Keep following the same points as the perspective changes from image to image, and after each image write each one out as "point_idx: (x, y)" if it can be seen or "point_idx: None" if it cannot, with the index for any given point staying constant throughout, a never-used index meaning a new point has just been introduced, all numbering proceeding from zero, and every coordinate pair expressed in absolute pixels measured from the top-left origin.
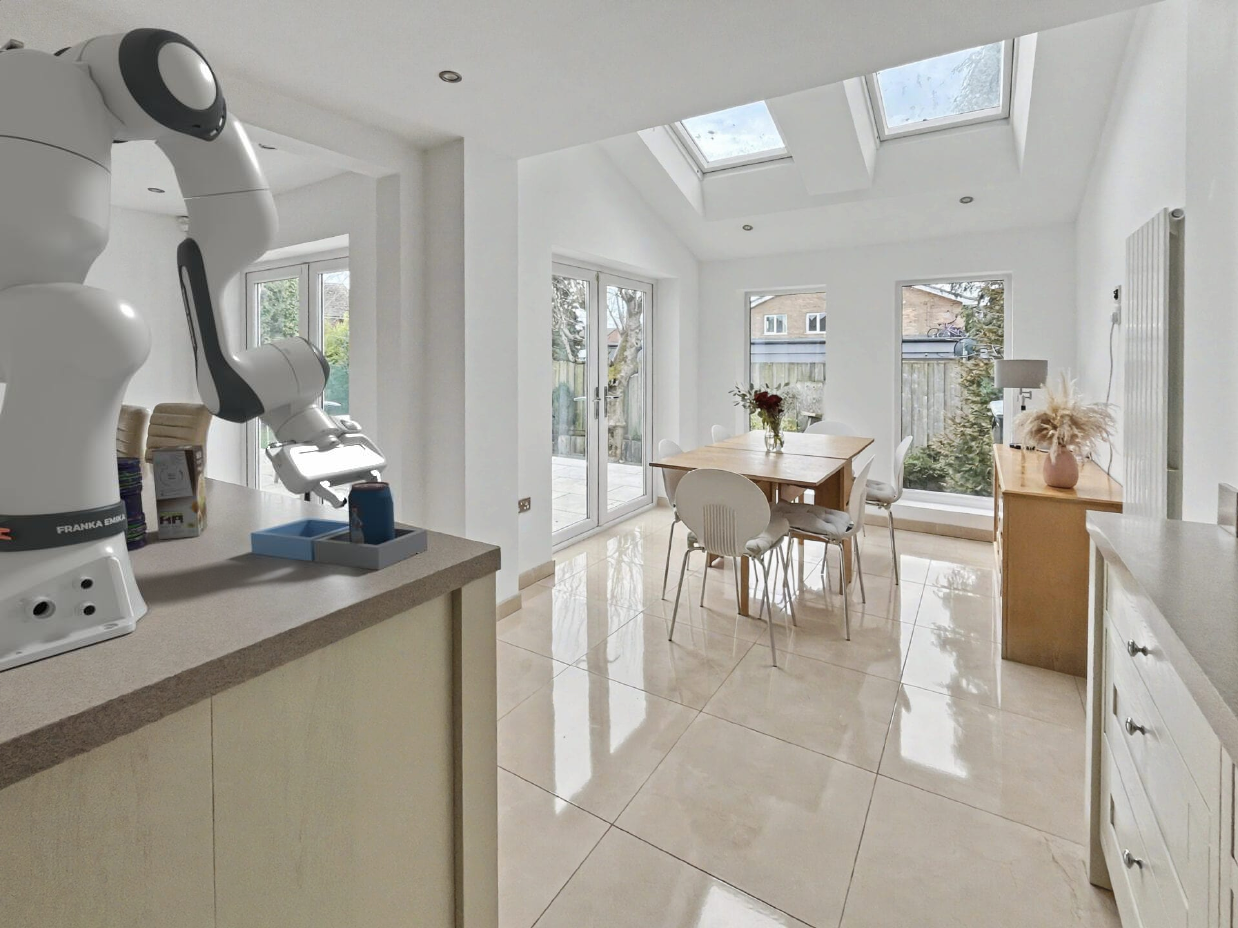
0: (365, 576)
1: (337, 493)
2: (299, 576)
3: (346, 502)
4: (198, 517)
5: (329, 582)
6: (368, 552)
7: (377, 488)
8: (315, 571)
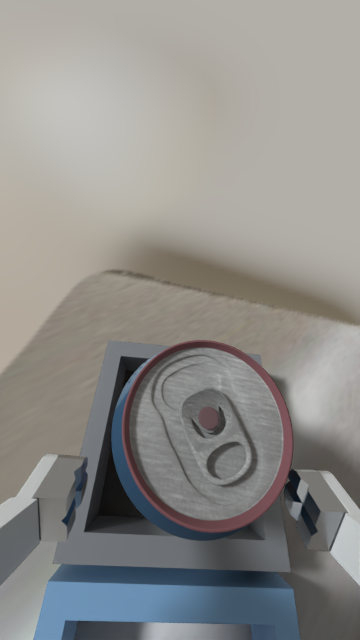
0: (276, 370)
1: (347, 514)
2: None
3: (293, 471)
4: None
5: (324, 404)
6: None
7: (240, 354)
8: None
